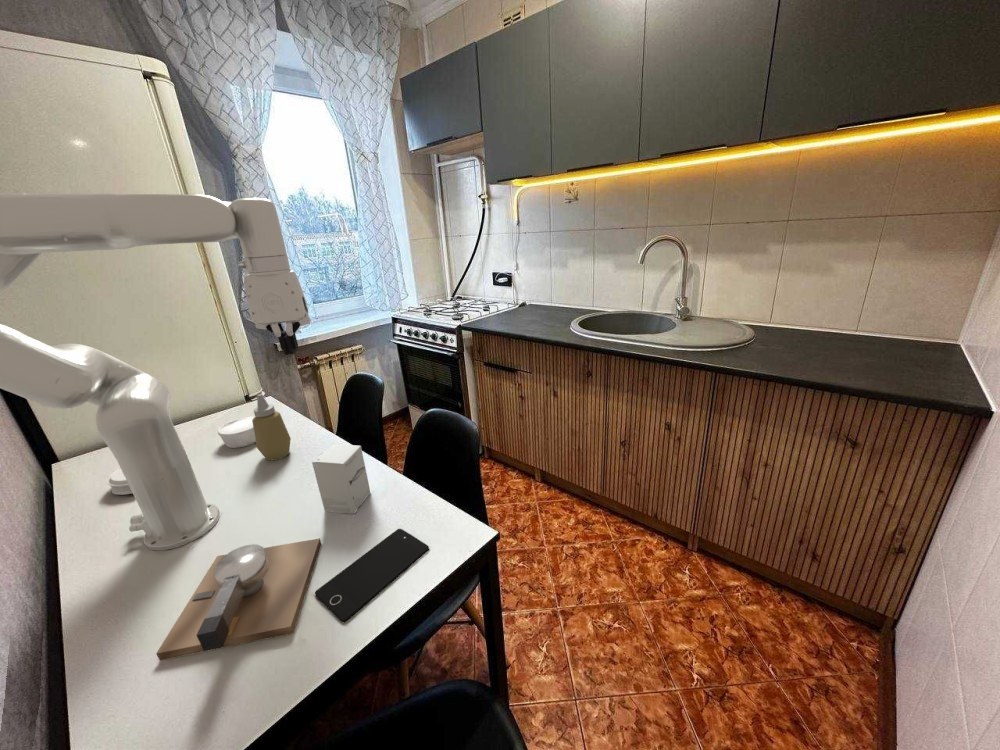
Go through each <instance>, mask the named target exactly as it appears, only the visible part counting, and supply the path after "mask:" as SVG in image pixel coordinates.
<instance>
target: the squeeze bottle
mask: <svg viewBox="0 0 1000 750" xmlns="http://www.w3.org/2000/svg"><path fill="white" fill-rule="evenodd" d="M256 399H257V400H256V404H257V405H256V407H254V409H253V414H254V416H253V417H254V418H253V420H252V422H253V428H254V433H255V438H256V442H255V443H256V448H257V450H258V451H259V452H260V453H261V455H262V456H263V457H264V458H265V460H266V461H277V460H280V459H283V458H284V457H286V456H288V454H289V453H290V450H291V448H290V447H291V438H292V437H291V435H290V433H289V432H288V429H287V427H286V424H285V421H284V420H283V417H282V415H281V413H280V412H279V411H277V410H276V409H275V406H274V404H272V403H268V402H267V400H266V399H265V397H264V395H263V394H261V393H260V394H257V395H256Z"/></svg>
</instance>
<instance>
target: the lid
mask: <svg viewBox="0 0 1000 750" xmlns="http://www.w3.org/2000/svg"><path fill="white" fill-rule="evenodd" d="M106 483H107V485H108V486H110V487H111V488H110V491H111V493H112V494H114V495H119V496H120V495H130V494H133V492H132V490H131V488H130V486H129V484H128V482H127V480H126V478H125V476H124V474H123V472H122V470H121V468H120V467H119V468H117V469H115V470H114V471H113V472H112V473H111V475H109V477H107V479H106Z"/></svg>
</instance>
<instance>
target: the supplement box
mask: <svg viewBox="0 0 1000 750" xmlns="http://www.w3.org/2000/svg"><path fill="white" fill-rule="evenodd" d="M311 464H312V468H313V471H314V475H315V479H316V484H317V486H318V490H319V494H320V499H321V502H322V505H323V510H324V512H331V513H338V514H339V513H341V514H347V515H348V514H350V515H355V513H356V512H357V510H358V509H359V508H360V506H361V505H362V504H363V502H364V501H365V500H366V498H368V496H369V495H370V494H371V488H370V485H369V484H370V483H369V479H368V474H367V469H366V463H365V459H364V454H363V450H362V446H361V445H355V444H354V445H353V444H352V445H351V444H333V443H332V444H331V445H330V446H328V447H327V448H326V449H325V450H324V451H323V452H322V453H320V455H318V456H317V457H316V458H315V459H314V460H313V461H312V462H311Z"/></svg>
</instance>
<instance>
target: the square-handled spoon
mask: <svg viewBox="0 0 1000 750" xmlns="http://www.w3.org/2000/svg"><path fill="white" fill-rule="evenodd" d="M264 548H265V547H263V546H262V545H260V544H255V543H253V544H247V545H243V546H240V547H237V548H235V549H232V550H231V551H230V552H228V553H227V555H226V554H224V555H225V556H224V557H223V558H222V559H221V560H220V561H219V562H218V563H217V565H216V566H215V569H214V575H215V577H216V580H217V582H218V584H219V587H220V590H219V592H218V594H217V596H216V598H215V601H214V603H213V605H212V607H211V609H210V611H209V613H208V615H207V617H206V619H204V621H203V623H202V625H201V627H200V629H199V631H198V633H197V635H196V636H197V638H198V640H199V642H200V644H201V646H202V648H203V650H204V653H205V652H208V651H209V650H210V651H214V650H218V649H217V648H219V649H222V648H221V647H223V645H224V642H225V640H226V638H227V635H228V633H229V628H230V625H231V623H232V620H233V618H234V615H235V613H236V611H237V608H238V606H239V603H240V601H241V599H242V596H243V594H244V591H245V590H247V589H249V588H251V587H252V586H254V585H255V584H257V583H258V582H259V581H260V580H262V579H263V577H264V576H265V575H266V574H267V572H268V570H269V562H268V559H267V556H266V554H265V551H264ZM213 649H214V650H213Z"/></svg>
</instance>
